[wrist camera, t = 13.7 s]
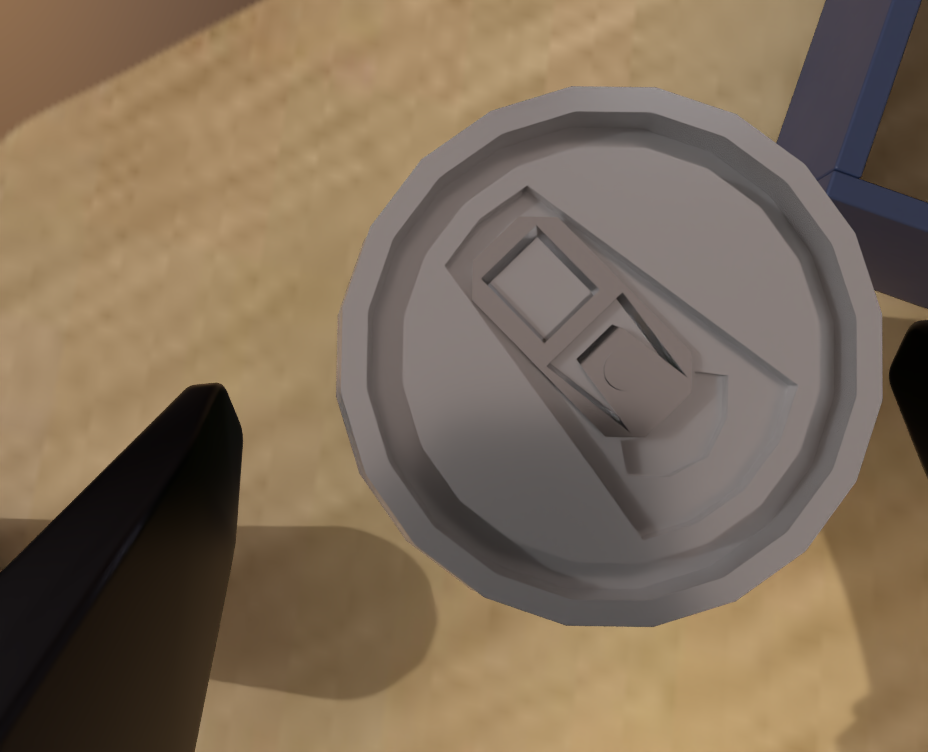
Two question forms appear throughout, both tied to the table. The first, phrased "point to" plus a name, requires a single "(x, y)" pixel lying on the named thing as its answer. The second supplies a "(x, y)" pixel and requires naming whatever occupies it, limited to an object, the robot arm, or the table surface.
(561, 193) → the beer can
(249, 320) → the table surface
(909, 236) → the bin
